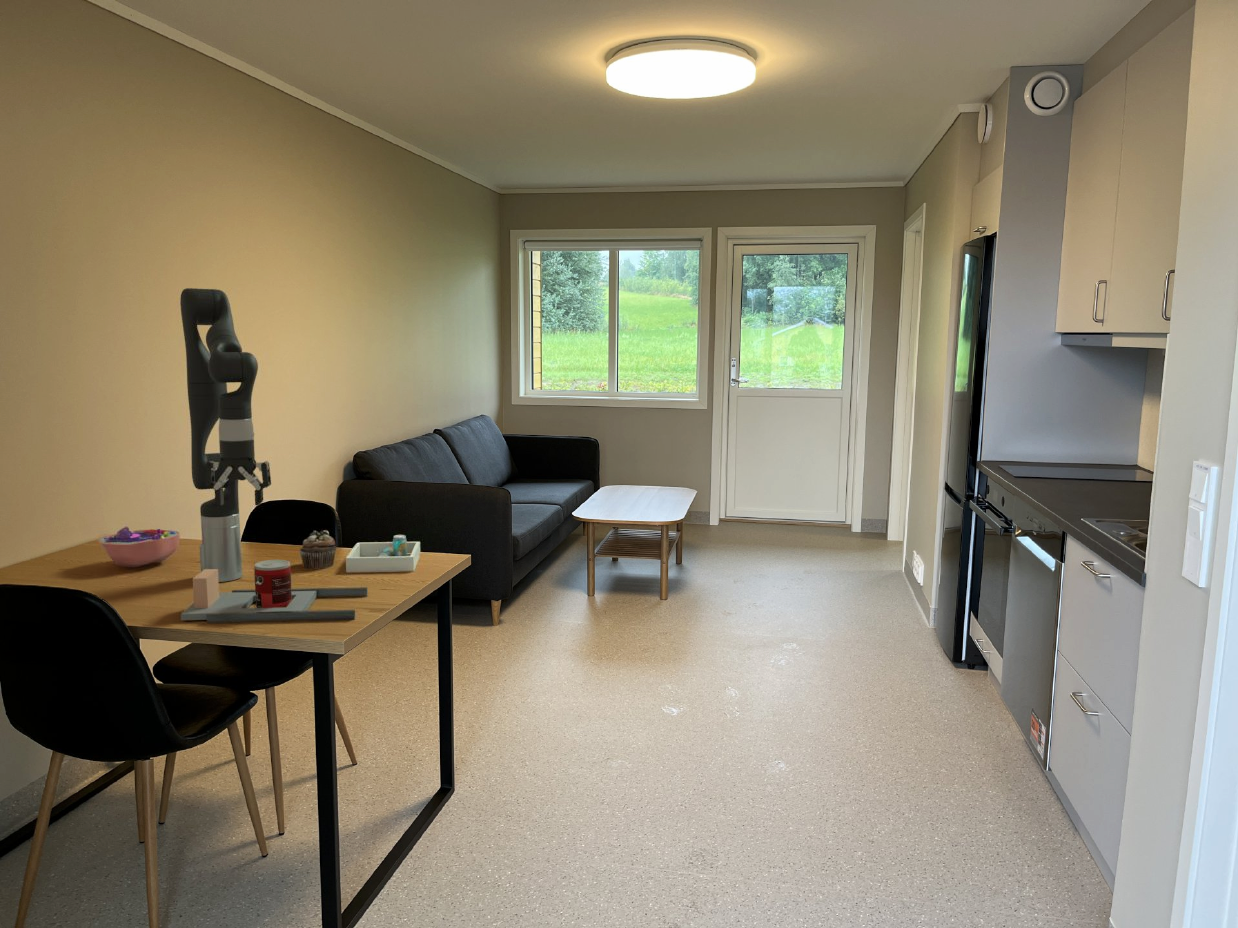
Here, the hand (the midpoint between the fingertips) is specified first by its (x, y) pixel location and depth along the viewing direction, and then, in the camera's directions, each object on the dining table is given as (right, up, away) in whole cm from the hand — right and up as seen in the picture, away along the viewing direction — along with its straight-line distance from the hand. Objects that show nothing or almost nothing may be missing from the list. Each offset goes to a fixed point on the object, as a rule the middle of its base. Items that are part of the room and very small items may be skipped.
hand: (239, 504), depth 209 cm
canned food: (+9, -25, -2) cm, 26 cm away
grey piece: (+4, -24, -3) cm, 25 cm away
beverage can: (+26, -19, +40) cm, 52 cm away
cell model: (-42, -19, +34) cm, 57 cm away
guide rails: (+13, -24, -2) cm, 28 cm away
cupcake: (+6, -19, +36) cm, 41 cm away
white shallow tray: (+24, -18, +39) cm, 50 cm away
